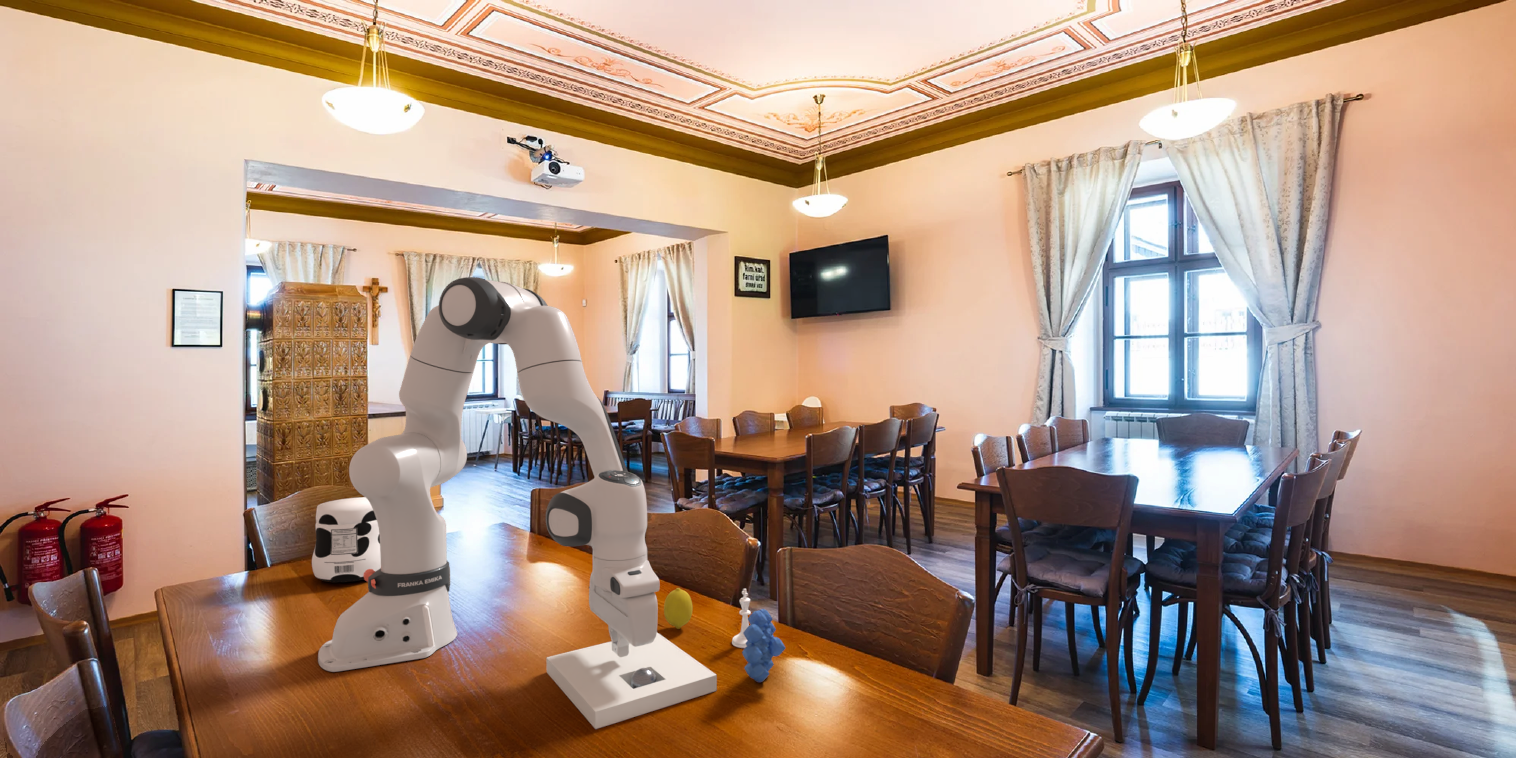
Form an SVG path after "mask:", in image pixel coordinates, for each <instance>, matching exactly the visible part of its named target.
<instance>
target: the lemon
mask: <svg viewBox="0 0 1516 758" xmlns="http://www.w3.org/2000/svg"><path fill="white" fill-rule="evenodd" d="M663 614H664V618H665V621H667V623H668V624H669V625H671V626H673V627H674V628H676V629H677V630H680V629H681V628H682V627H683V626H685V625H687V624H688V623H689V621H690V620H691V617H692V615H693V602H692V598H691V596H690V594H689V593H688V592H687V591H685V590H683V589H681V588H680V587H676V589H674V590H672V591H670V592H669V593H668V594H667V595H666V598H665V599H664V606H663Z"/></svg>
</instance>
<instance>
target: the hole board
mask: <svg viewBox="0 0 1516 758" xmlns="http://www.w3.org/2000/svg"><path fill="white" fill-rule="evenodd" d="M545 662H546V673H547V675H548V676H549V677H550V678H551V679H552V681H554V682H555V684H556V685H557V686H558V687H559V689H560V690H561V691H562V692H563V693H564V694H565V696H567V698H568V699H569V700H570V701H571V702H572V704H573V705H574V706H575V707H576V709H578V711H579V712H580V713H581V714H582V715H583V717H584V718H585V719H586V720H587V721H588V722H589V724H591V726H592V727H593V728H594V729H595V730H598V729H601V728H604V727H606V726H610V725H614V724H616V723H620V722H623V721H626V720H629V719H632V718H634V717H638V716H642V715H644V714H647V713H650V712H651V713H652V712H653V711H657V710H660V709H664V708H667V707H670V706H673V705H676V704H679V703H681V702H686V701H688V700H691V699H694V698H698V697H700V696H704V695H707V694H711V693H713V692H717V691H718V687H717V685H718V684H717V683H718V680H717V679H718V677H717V674H716V673H715V672H713V671H712V670H710V668H708V667H707V666H705V665H704V664H702V663H701V662H699V661H698V660H696V659H695V658H694V657H692V656H691V655H690V654H688V653H687V652H685V651H684V650H682V649H681V648H680V647H678V646H677V645H676V644H675V643H673V642H671V641H670V640H668V639H667V638H666V637H664V636H663V635H662V634H661V633H658V632H657V634H656V637H655V639H654V641H653V642H652V643H650V644H646V645H642V646H637V647H634V646H633V645H632V644H629V654H628V655H627V656H624V657H619V656H618V655H617V654H616V653H615V652H613V651H612V641H607V642H603V643H600V644H594V645H590V646H588V647H583V648H579V649H574V650H570V651H567V652H562V653H559V654H554V655H551V656H547V657H546V661H545ZM640 668H648V669H650V670H652V671H653V672H654V674H655V676H656V682H655V683H652V684H648V685H645V686H642V687H638V688H635V689H633V688H632V687H631V678H632V675H633V674H634V672H635V671H637V670H638V669H640Z"/></svg>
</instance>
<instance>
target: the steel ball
mask: <svg viewBox="0 0 1516 758" xmlns="http://www.w3.org/2000/svg"><path fill="white" fill-rule="evenodd" d="M655 682H656V676H655V674H654V672H653V671H652V670H650V669H648V668H640V669H638V670H637V671H635V672H634V674H633V675H632V678H631V687H632V688H633V689H635V688H638V687H642V686H645V685H648V684H652V683H655Z"/></svg>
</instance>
